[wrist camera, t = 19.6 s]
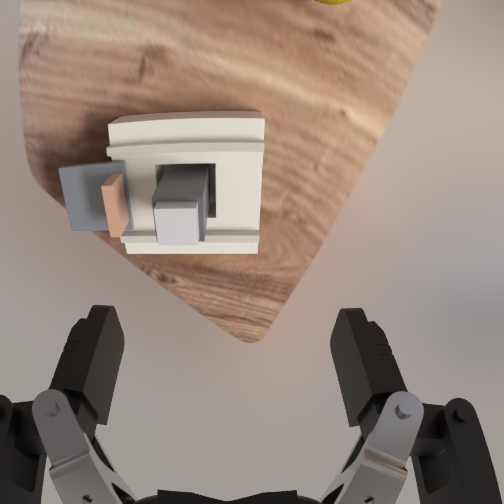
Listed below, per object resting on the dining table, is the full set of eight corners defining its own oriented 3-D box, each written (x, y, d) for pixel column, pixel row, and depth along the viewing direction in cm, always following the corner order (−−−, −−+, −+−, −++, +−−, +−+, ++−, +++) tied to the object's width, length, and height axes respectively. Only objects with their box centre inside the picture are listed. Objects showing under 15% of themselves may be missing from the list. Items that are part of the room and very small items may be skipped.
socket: (121, 116, 29) (104, 126, 24) (260, 111, 29) (265, 120, 25) (135, 234, 36) (124, 259, 32) (255, 233, 37) (258, 259, 33)
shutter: (61, 166, 27) (43, 180, 24) (125, 160, 27) (112, 174, 24) (74, 228, 30) (60, 246, 27) (134, 226, 31) (124, 246, 28)
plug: (170, 161, 31) (148, 204, 23) (209, 160, 32) (201, 203, 23) (173, 196, 34) (154, 249, 25) (210, 196, 34) (203, 249, 25)
